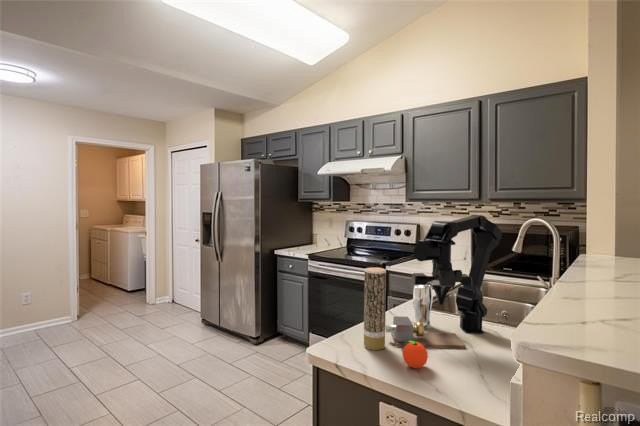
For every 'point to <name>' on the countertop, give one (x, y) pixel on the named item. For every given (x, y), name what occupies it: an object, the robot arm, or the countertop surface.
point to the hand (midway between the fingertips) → (440, 304)
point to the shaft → (417, 329)
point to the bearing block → (403, 329)
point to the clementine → (415, 354)
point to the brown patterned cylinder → (374, 308)
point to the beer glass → (422, 304)
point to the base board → (435, 340)
